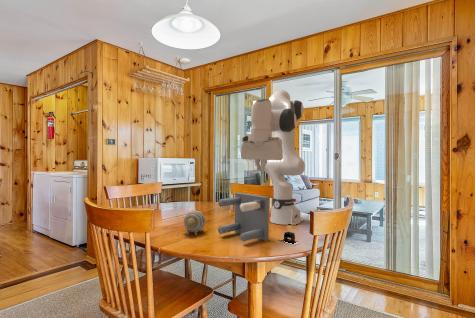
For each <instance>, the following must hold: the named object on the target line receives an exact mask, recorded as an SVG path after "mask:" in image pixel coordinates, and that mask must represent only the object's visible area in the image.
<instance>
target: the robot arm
mask: <svg viewBox="0 0 475 318" xmlns="http://www.w3.org/2000/svg"><path fill="white" fill-rule="evenodd" d="M304 110H305V108H304V105H303V102H302V101H301V100H298V99H297V100H296V99H295V100H291V96H290V94H289V92H288V91H286V90H283V89H280V90H277V91H274V93H272V94H271V95H270V96H269V98H263V99H260V98H259V99H255V100H253V101H252V103H251V111H250V121H251V122H250V123H251V128H250V132H249V133H248V134H246V135H244V136H242V137H241V143H242V144H241V146H240V158H241V159H242V160H250V161H251V160H253V161H254V164H255V166H256V172H265V173H266V174H267V175H268V176H269V178H270V180H271V182H272V186H273V188H272V189H273V197H272V206H271V211H270V216H269V221H270V223H272V224H277V225H287V226H288V224H291V226H292V225H293V226H294V225H295V226H297V225H298V224H300V223H302V222H304V221H305V218H304V217H301V211H300V209H299V208H298V207H296V205H295V203H297V198H293V186H292V184H291V183H290V182H289V181H287V180H286V178H285V176H290V177H292V176H300V175H302V174H303V173H304V172H305V170H306V164H305V163H306V162H305V161H304V159H303V158H302V157H300V155H299V154H298V153H297V151H296V147H295V134H296V132H295V131H296V129H295V128H296V126H297V122H298V120H300V119H301V118H302V117H303V114H304V112H305V111H304ZM273 132H275V137H273ZM303 220H304V221H303ZM301 221H302V222H301ZM296 224H297V225H296Z"/></svg>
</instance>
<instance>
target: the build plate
mask: <svg viewBox="0 0 475 318" xmlns="http://www.w3.org/2000/svg"><path fill="white" fill-rule="evenodd" d="M283 238H284V239H283ZM283 238H282V239H283V240H281V241H285V242H288V243H292V244H294V243H296V242H298V241H296V235H295V232H291V231H285V232H284V234H283ZM281 241H280V242H281ZM285 242H284V243H285ZM288 243H287V244H288ZM292 244H291V245H292Z"/></svg>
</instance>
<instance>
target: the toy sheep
mask: <svg viewBox="0 0 475 318" xmlns="http://www.w3.org/2000/svg"><path fill="white" fill-rule="evenodd" d="M183 225H184V228H185V229H186V235H187V236H189V235H190V233H194V236H197V235H198V232H202V231H203V229H204V227H205V225H206V217H205V215H204V213H202V212H201V211H200V210H192V211H189V212H188V213H187V214H186V215H185V217H184V218H183Z"/></svg>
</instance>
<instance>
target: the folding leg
mask: <svg viewBox="0 0 475 318" xmlns="http://www.w3.org/2000/svg"><path fill="white" fill-rule="evenodd" d="M240 210H241V211H242V212H244V211H249V210H256V211H259V210H261V200H254V202H249V203H242V204H241V205H240Z"/></svg>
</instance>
